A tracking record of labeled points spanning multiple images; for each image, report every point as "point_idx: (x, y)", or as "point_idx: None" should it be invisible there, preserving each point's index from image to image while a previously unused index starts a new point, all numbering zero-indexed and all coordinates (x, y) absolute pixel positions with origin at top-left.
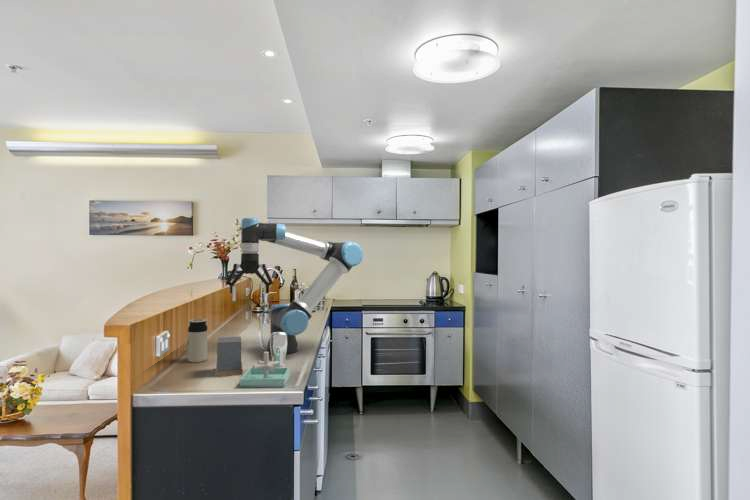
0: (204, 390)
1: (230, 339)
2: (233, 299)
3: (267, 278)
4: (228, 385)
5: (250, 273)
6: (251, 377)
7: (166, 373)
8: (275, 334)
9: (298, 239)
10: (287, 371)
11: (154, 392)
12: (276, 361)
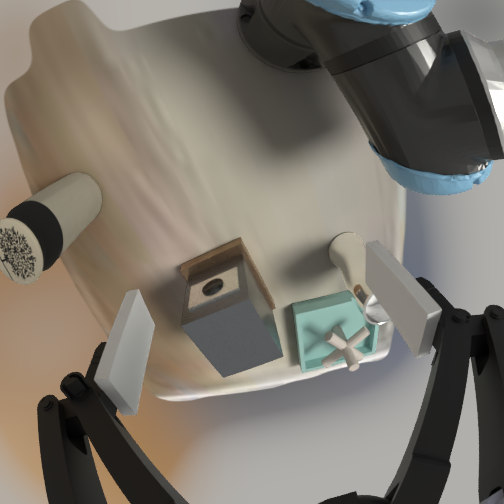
0: (245, 379)
1: (237, 342)
2: (149, 333)
3: (478, 399)
4: None
5: None
6: (306, 327)
7: (102, 314)
8: None
9: None
10: None
11: (174, 392)
12: (365, 336)
